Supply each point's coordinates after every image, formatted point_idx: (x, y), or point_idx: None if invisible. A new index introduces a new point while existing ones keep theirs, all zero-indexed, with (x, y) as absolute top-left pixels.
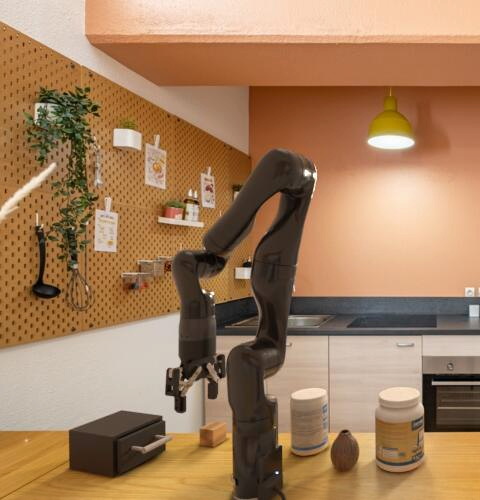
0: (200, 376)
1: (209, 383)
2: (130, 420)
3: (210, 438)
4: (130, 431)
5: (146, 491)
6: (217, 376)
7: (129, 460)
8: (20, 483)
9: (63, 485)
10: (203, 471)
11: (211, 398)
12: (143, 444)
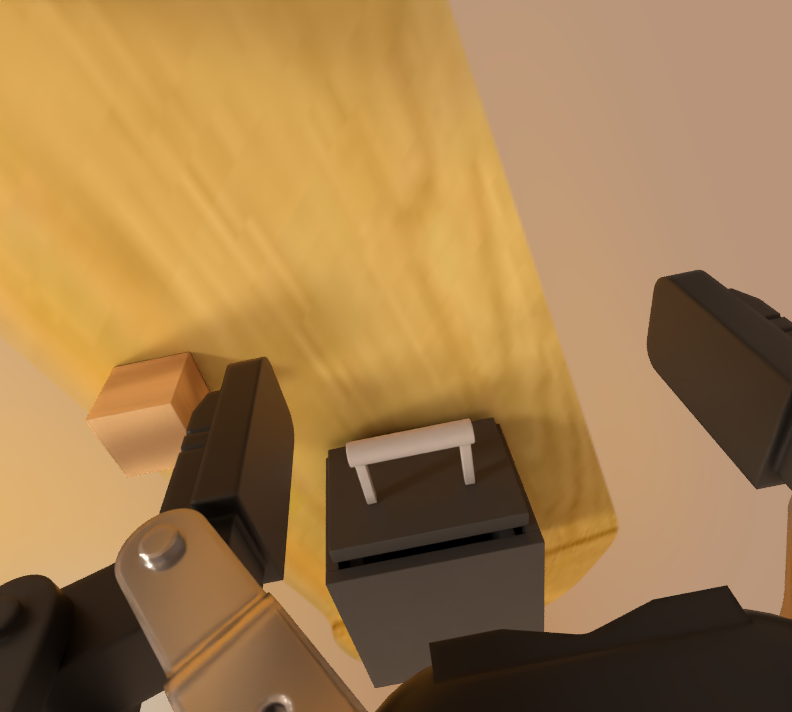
0: (642, 688)
1: (266, 569)
2: (417, 615)
3: (187, 387)
4: (469, 548)
5: (523, 253)
6: (156, 622)
7: (471, 444)
8: (586, 549)
9: (568, 479)
10: (328, 193)
11: (277, 393)
12: (423, 482)
